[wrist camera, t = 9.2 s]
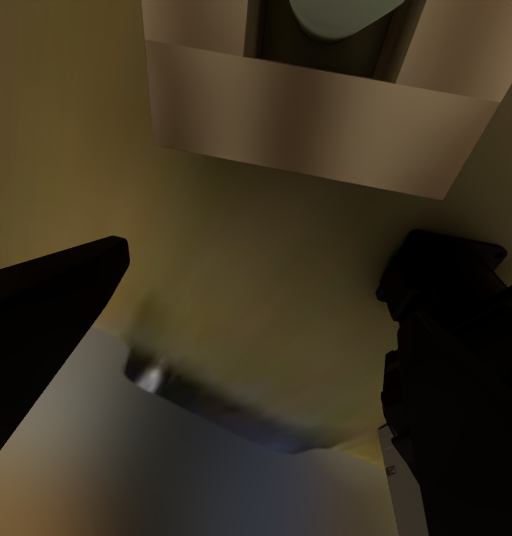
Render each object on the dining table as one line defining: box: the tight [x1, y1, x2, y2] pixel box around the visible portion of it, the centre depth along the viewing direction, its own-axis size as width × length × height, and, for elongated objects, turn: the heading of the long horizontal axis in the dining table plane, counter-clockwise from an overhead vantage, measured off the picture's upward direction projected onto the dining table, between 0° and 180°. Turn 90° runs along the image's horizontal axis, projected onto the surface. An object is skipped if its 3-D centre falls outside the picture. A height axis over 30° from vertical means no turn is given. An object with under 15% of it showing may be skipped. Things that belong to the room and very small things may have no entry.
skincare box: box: [378, 425, 429, 536], centre depth 28 cm, size 8×7×16 cm
